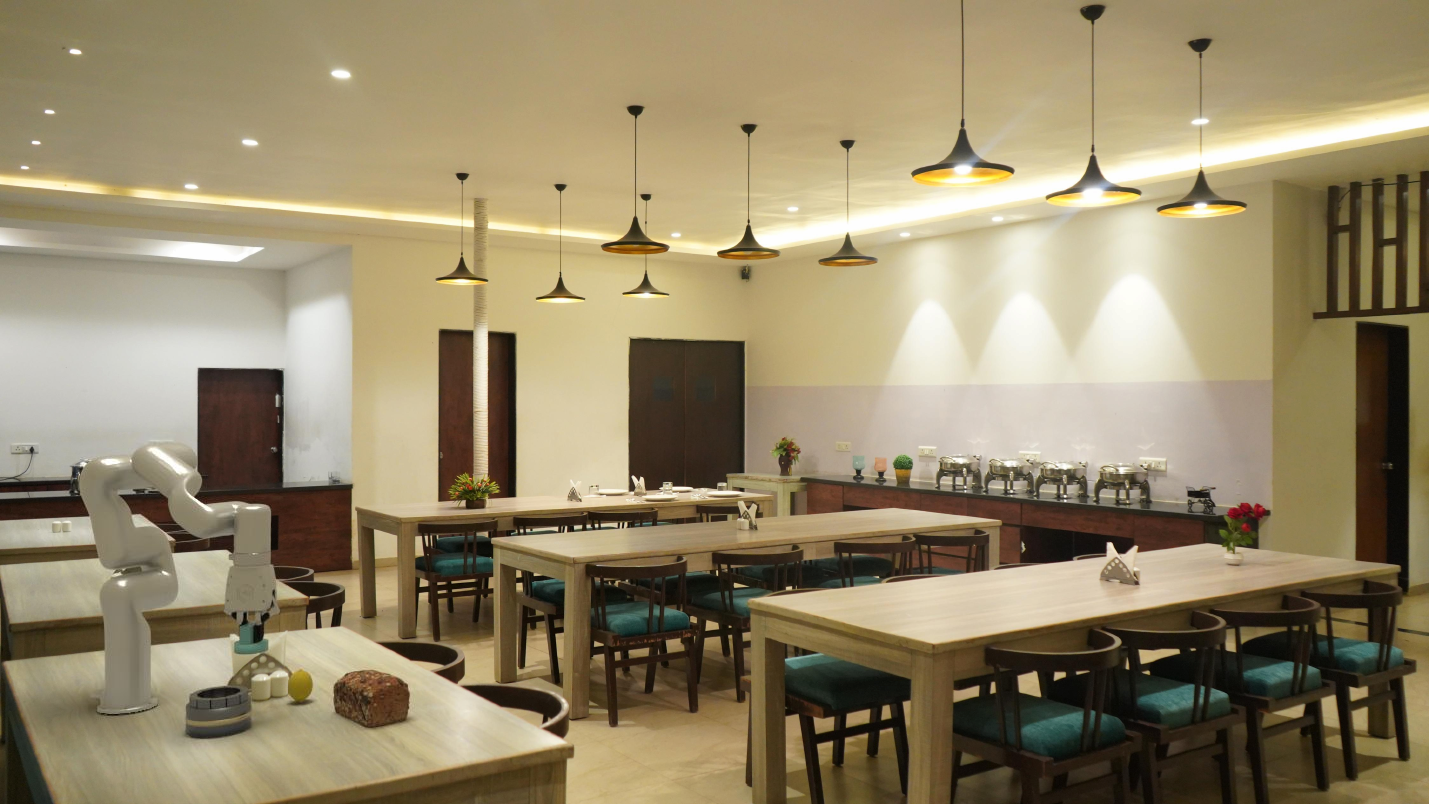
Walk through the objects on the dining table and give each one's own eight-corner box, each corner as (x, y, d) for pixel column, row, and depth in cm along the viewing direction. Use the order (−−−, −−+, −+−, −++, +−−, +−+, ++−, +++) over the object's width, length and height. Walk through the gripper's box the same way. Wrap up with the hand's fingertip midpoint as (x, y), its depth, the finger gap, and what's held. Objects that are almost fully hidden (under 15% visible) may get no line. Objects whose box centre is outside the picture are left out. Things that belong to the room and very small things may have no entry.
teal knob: (227, 653, 227) (228, 626, 227) (244, 646, 234) (244, 620, 234) (258, 654, 226) (258, 627, 226) (274, 647, 233) (274, 620, 233)
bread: (411, 720, 233) (410, 676, 233) (365, 730, 225) (365, 685, 225) (374, 703, 246) (374, 661, 246) (331, 712, 239) (330, 669, 239)
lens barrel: (172, 737, 221) (172, 700, 221) (207, 719, 234) (207, 684, 234) (230, 739, 219) (230, 701, 219) (263, 720, 233) (263, 685, 233)
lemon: (304, 706, 244) (303, 672, 244) (283, 705, 245) (283, 671, 245) (317, 699, 249) (317, 666, 249) (297, 698, 250) (296, 665, 250)
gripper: (208, 561, 227) (207, 644, 227) (278, 562, 226) (278, 646, 226) (226, 556, 234) (225, 636, 234) (294, 557, 233) (294, 638, 233)
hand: (251, 640), depth 230 cm, fingers closed on teal knob
